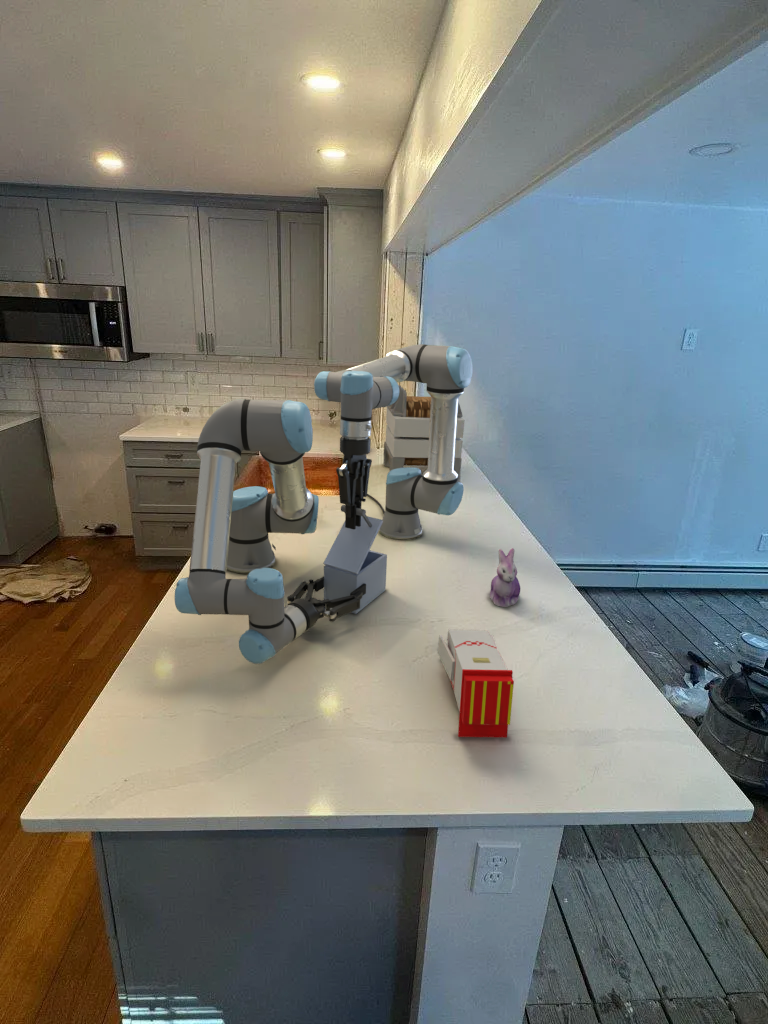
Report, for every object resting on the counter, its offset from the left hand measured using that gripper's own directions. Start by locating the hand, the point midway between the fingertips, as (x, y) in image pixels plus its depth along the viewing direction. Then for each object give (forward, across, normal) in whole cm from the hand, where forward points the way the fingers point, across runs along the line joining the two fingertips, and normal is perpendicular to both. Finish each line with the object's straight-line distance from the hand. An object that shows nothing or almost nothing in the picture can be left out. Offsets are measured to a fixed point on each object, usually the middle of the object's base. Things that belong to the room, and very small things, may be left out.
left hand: (347, 582), depth 150 cm
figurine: (+26, +35, -6) cm, 44 cm away
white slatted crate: (+127, -40, -6) cm, 134 cm away
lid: (+3, 0, +10) cm, 11 cm away
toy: (-17, +42, -6) cm, 46 cm away
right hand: (+2, 0, +15) cm, 16 cm away
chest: (+4, 0, -6) cm, 7 cm away
